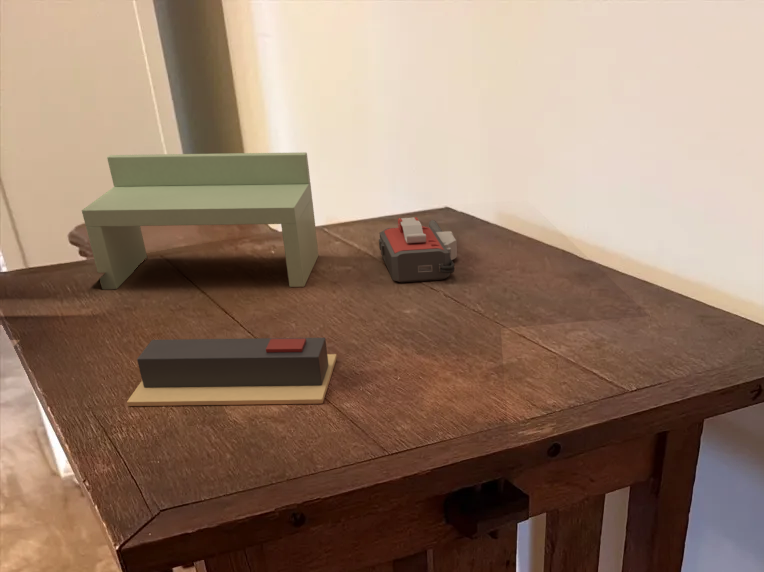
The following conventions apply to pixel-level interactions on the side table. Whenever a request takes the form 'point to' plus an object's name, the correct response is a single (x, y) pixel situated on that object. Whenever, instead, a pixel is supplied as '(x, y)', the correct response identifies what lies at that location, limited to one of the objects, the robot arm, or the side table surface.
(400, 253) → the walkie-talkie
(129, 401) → the mat
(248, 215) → the green bench
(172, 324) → the side table surface
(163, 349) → the remote
